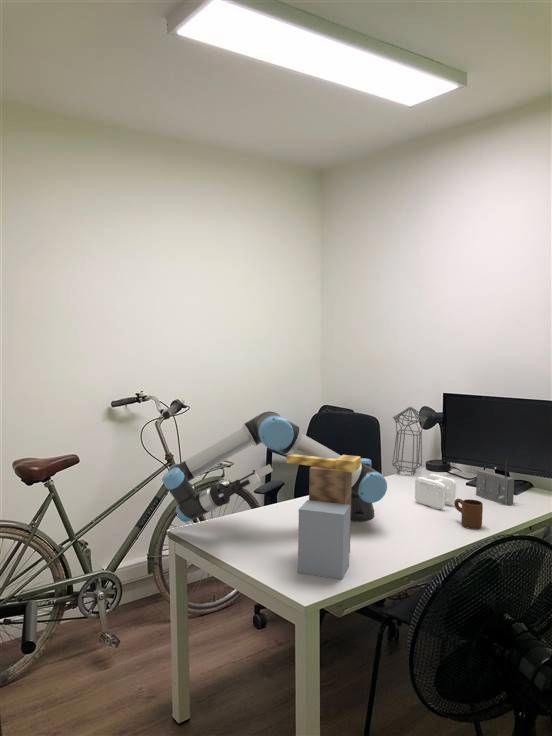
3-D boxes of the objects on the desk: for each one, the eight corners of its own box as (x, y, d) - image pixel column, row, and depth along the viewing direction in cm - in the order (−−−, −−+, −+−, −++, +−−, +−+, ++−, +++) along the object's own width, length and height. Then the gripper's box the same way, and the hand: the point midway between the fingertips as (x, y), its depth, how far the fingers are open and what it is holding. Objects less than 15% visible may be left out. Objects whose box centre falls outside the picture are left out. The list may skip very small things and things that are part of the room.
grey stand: (297, 572, 179) (298, 509, 178) (306, 560, 189) (307, 500, 187) (342, 579, 175) (343, 514, 173) (348, 566, 184) (350, 504, 183)
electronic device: (513, 504, 252) (515, 459, 251) (503, 506, 249) (505, 460, 247) (481, 494, 267) (482, 451, 266) (470, 496, 264) (472, 452, 262)
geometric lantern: (395, 468, 313) (399, 404, 311) (425, 472, 306) (429, 407, 304) (387, 474, 299) (391, 407, 297) (418, 479, 292) (422, 410, 290)
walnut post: (307, 558, 191) (309, 468, 188) (315, 547, 200) (317, 461, 198) (343, 563, 187) (346, 471, 185) (349, 551, 196) (352, 464, 194)
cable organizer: (457, 507, 247) (458, 480, 246) (441, 511, 241) (442, 484, 240) (428, 498, 259) (429, 472, 258) (413, 502, 253) (413, 476, 252)
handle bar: (283, 464, 193) (283, 454, 193) (292, 459, 200) (292, 449, 200) (353, 472, 183) (354, 461, 183) (360, 467, 191) (360, 456, 191)
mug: (447, 521, 228) (448, 498, 228) (460, 518, 233) (461, 495, 232) (473, 530, 218) (474, 506, 218) (486, 527, 223) (487, 503, 222)
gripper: (233, 496, 217) (280, 473, 210) (204, 517, 193) (257, 491, 187) (224, 478, 218) (271, 454, 211) (194, 497, 194) (246, 470, 187)
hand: (264, 472), depth 199 cm, fingers open, 13 cm apart
